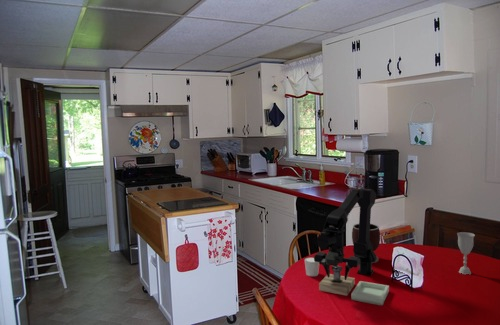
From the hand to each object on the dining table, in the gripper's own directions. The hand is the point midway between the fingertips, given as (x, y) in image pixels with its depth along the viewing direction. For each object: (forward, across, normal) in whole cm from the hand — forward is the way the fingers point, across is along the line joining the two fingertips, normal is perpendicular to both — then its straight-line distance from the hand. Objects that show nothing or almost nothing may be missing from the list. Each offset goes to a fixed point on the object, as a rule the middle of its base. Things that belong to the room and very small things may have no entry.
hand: (337, 278), depth 170 cm
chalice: (+4, +48, +40) cm, 63 cm away
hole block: (+4, 0, 0) cm, 4 cm away
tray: (+4, +14, -2) cm, 15 cm away
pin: (+4, 0, 0) cm, 4 cm away
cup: (+4, -15, +10) cm, 19 cm away
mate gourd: (+4, +3, +41) cm, 41 cm away
